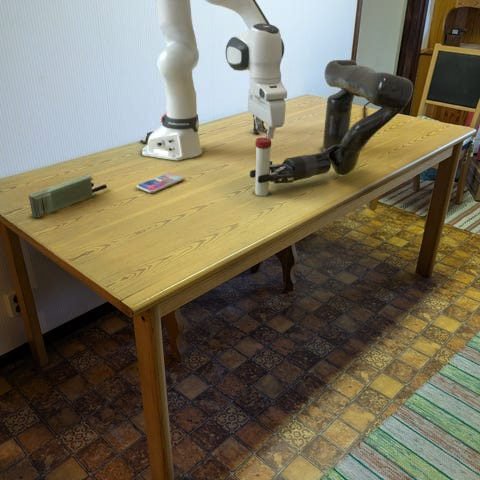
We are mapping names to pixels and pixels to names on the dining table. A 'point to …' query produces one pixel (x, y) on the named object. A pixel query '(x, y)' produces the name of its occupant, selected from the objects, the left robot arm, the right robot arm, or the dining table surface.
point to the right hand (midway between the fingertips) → (254, 177)
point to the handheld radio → (62, 195)
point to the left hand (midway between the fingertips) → (264, 134)
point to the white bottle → (262, 170)
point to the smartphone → (159, 182)
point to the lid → (263, 142)
